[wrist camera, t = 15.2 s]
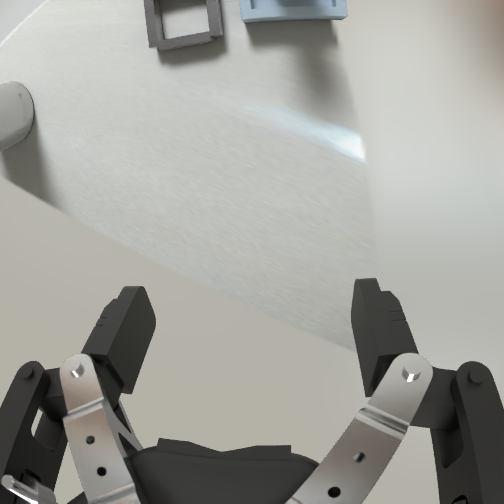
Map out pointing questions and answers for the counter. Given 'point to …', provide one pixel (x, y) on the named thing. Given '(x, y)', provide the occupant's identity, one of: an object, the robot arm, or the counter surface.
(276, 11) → the tray
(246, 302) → the counter surface
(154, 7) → the grey square holder
